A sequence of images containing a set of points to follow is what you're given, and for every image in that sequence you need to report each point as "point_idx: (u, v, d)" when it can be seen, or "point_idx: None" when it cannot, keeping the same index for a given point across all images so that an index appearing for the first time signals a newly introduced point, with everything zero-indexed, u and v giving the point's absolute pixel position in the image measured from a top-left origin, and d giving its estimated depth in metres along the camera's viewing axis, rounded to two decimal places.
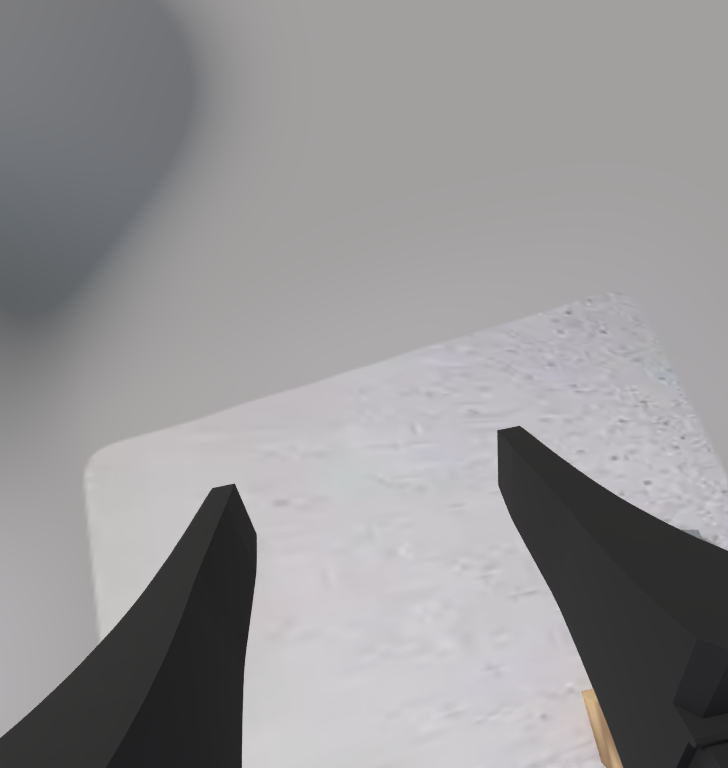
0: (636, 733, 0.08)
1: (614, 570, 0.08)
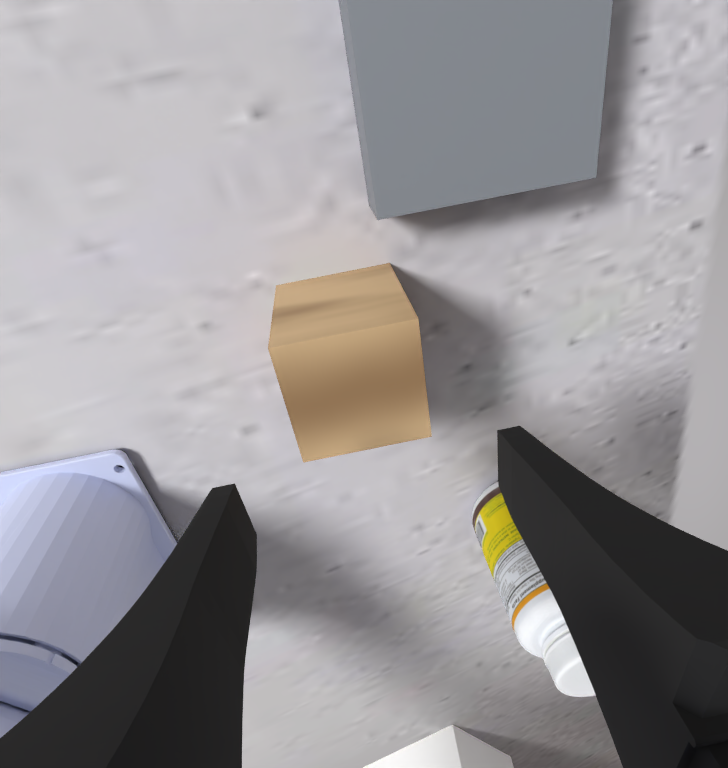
0: (637, 733, 0.08)
1: (614, 570, 0.08)
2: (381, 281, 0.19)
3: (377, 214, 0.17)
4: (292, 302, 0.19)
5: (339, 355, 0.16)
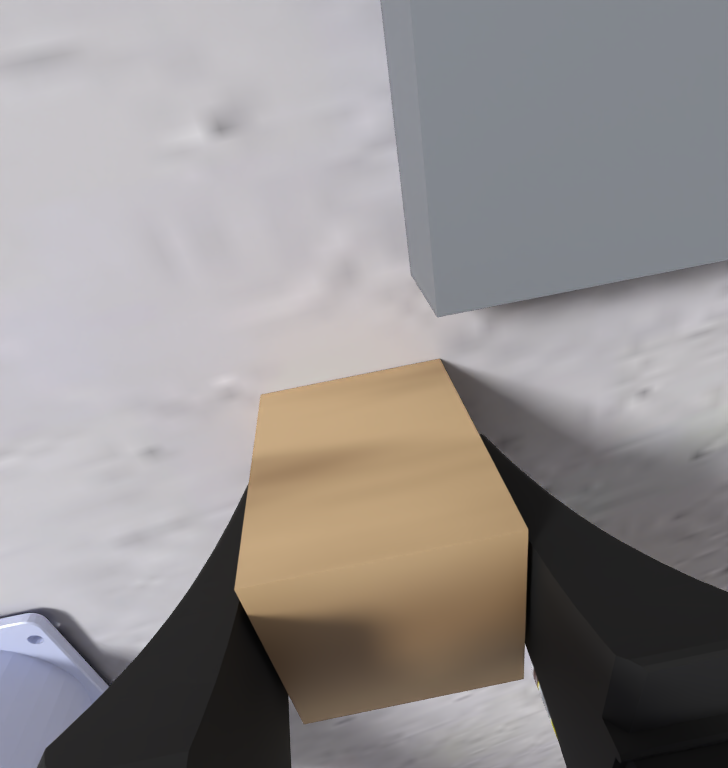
0: (578, 746, 0.08)
1: (552, 583, 0.08)
2: (434, 405, 0.11)
3: (437, 307, 0.09)
4: (284, 443, 0.11)
5: (371, 590, 0.08)
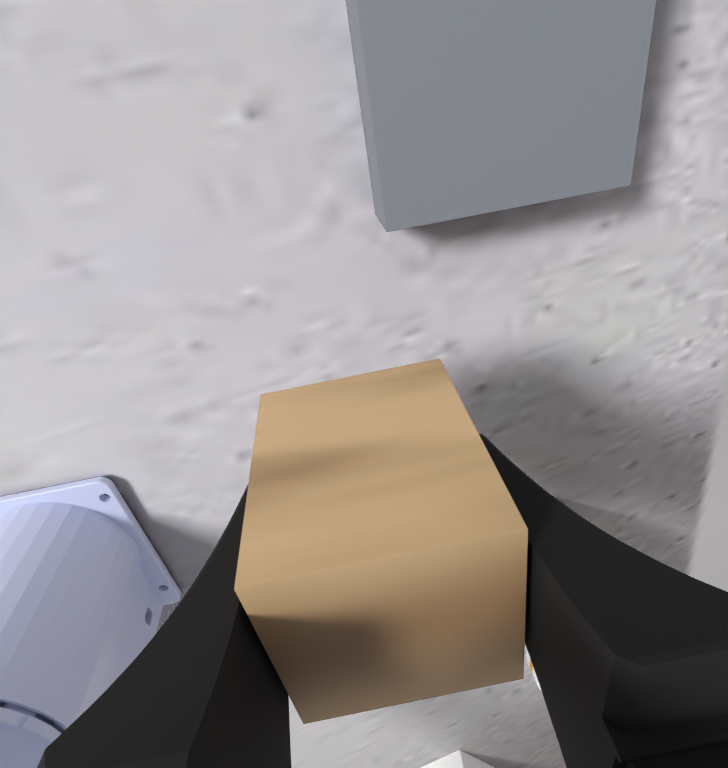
0: (577, 746, 0.08)
1: (552, 583, 0.08)
2: (434, 404, 0.11)
3: (386, 226, 0.15)
4: (284, 443, 0.11)
5: (371, 590, 0.08)
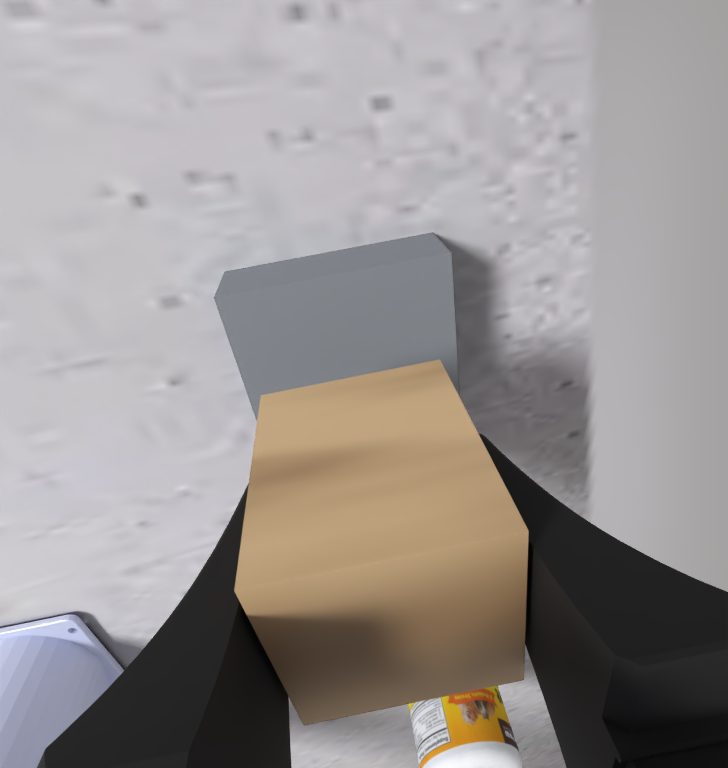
0: (578, 746, 0.08)
1: (552, 583, 0.08)
2: (434, 405, 0.11)
3: None
4: (284, 444, 0.11)
5: (372, 591, 0.08)
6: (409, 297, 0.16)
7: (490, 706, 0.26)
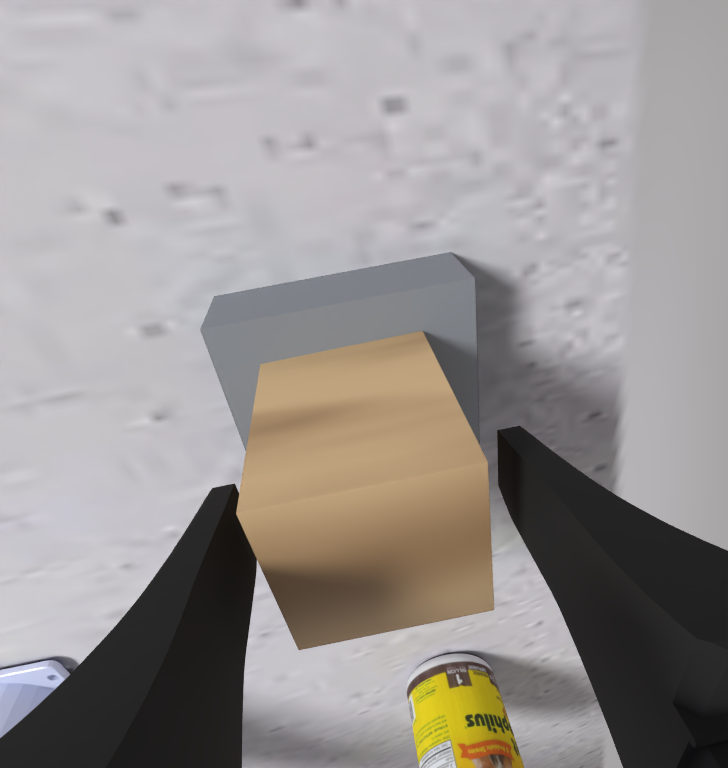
0: (637, 733, 0.08)
1: (614, 570, 0.08)
2: (414, 368, 0.13)
3: None
4: (280, 402, 0.12)
5: (354, 517, 0.10)
6: (425, 327, 0.14)
7: (507, 760, 0.24)
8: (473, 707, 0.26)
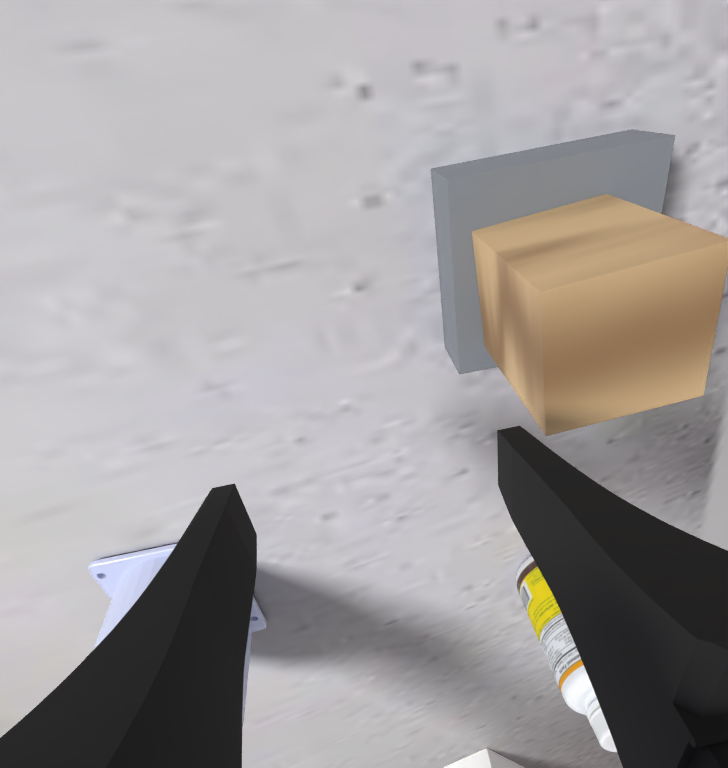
0: (637, 733, 0.08)
1: (614, 570, 0.08)
2: (620, 211, 0.15)
3: (459, 370, 0.21)
4: (515, 243, 0.15)
5: (623, 295, 0.13)
6: (625, 182, 0.17)
7: None
8: None
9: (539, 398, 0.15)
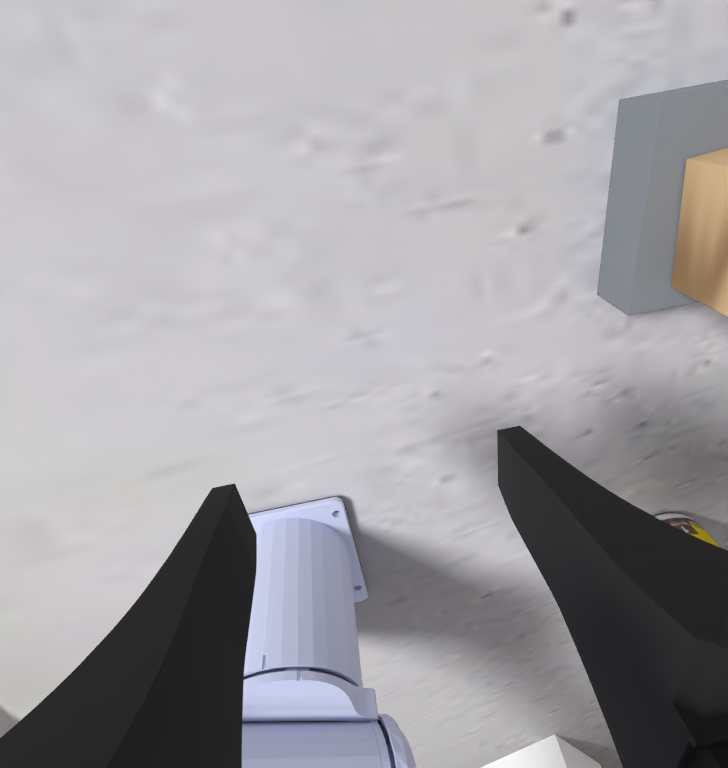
0: (637, 733, 0.08)
1: (614, 570, 0.08)
2: None
3: (628, 311, 0.20)
4: None
5: None
6: None
7: None
8: None
9: None
